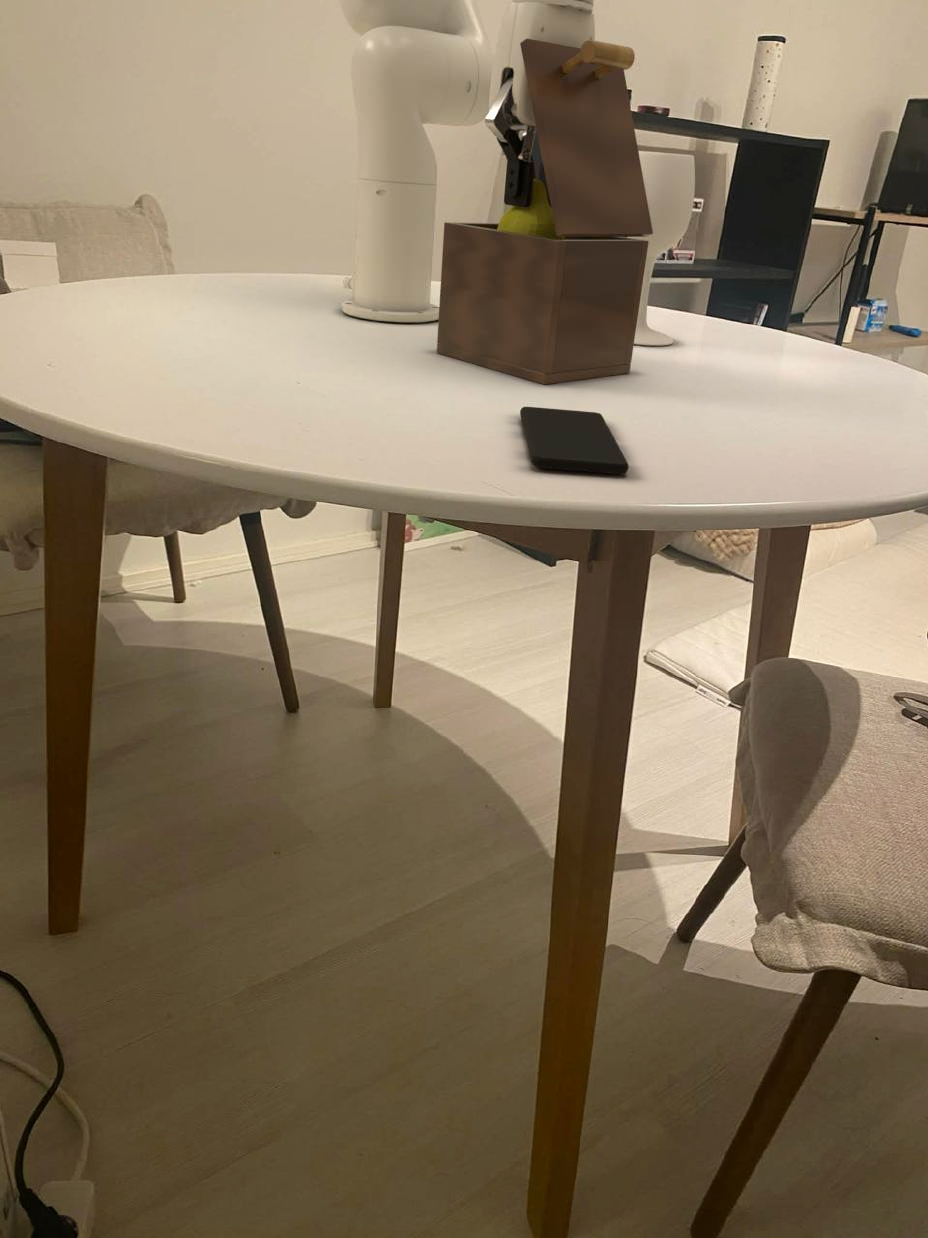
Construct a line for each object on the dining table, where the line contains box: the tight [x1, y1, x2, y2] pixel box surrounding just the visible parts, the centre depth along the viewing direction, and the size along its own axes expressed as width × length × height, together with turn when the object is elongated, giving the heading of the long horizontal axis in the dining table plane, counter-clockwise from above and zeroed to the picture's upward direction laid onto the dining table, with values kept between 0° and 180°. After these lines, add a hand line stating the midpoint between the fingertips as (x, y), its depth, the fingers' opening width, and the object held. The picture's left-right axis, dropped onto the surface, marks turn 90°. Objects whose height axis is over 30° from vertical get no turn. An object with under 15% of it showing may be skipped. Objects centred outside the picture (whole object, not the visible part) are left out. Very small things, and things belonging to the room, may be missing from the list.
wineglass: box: [626, 150, 696, 347], centre depth 117 cm, size 9×9×21 cm
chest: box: [436, 221, 649, 385], centre depth 101 cm, size 16×13×13 cm
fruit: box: [497, 154, 564, 240], centre depth 98 cm, size 7×7×12 cm
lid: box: [520, 39, 653, 238], centre depth 90 cm, size 17×13×5 cm
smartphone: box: [519, 406, 629, 475], centre depth 75 cm, size 7×1×15 cm
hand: (533, 204), depth 98 cm, fingers closed on fruit, 3 cm apart
